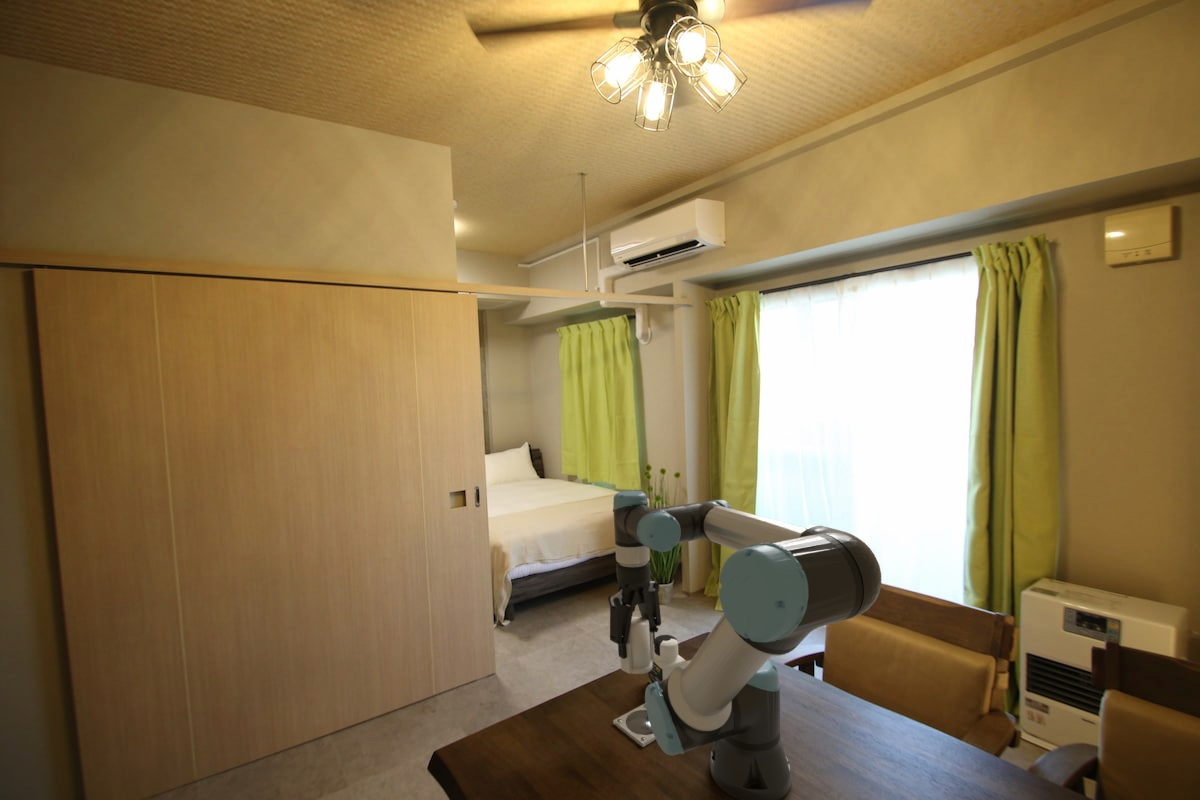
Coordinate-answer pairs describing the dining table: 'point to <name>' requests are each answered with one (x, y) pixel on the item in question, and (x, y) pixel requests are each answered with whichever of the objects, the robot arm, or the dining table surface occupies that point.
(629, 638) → the elbow
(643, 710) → the flange plate
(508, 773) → the dining table surface
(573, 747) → the dining table surface
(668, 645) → the medicine bottle
